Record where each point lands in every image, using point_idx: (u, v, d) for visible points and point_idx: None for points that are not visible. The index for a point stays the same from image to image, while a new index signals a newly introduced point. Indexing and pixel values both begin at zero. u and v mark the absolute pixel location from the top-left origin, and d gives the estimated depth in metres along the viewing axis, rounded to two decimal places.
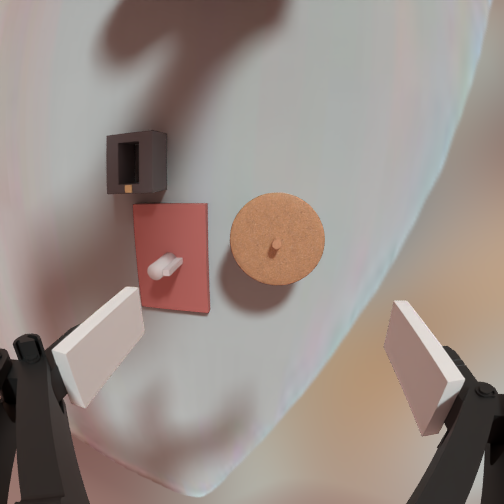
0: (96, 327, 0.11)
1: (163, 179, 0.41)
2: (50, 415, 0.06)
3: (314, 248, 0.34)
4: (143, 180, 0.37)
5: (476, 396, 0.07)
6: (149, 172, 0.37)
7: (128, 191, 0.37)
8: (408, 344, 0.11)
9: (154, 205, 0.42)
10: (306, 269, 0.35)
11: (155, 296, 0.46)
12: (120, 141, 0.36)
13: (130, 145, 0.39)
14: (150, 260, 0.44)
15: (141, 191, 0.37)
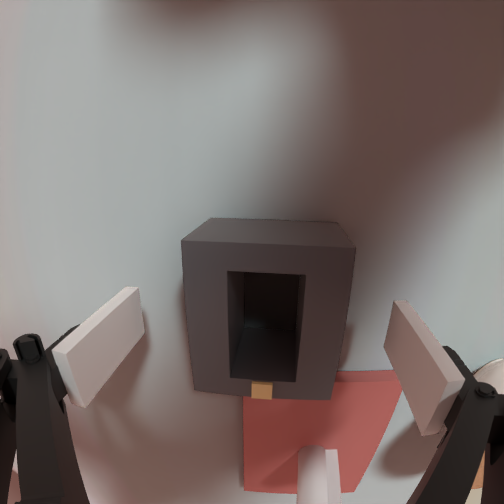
0: (96, 327, 0.11)
1: None
2: (50, 415, 0.06)
3: None
4: (309, 376, 0.14)
5: (476, 396, 0.07)
6: (329, 359, 0.13)
7: (262, 396, 0.14)
8: (408, 344, 0.11)
9: None
10: None
11: (271, 484, 0.22)
12: (235, 266, 0.12)
13: None
14: (272, 453, 0.21)
15: (299, 397, 0.14)
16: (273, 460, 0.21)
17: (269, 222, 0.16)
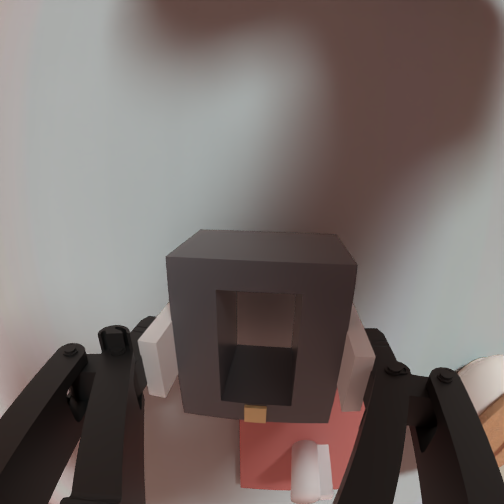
0: None
1: None
2: (125, 413, 0.07)
3: None
4: (306, 400, 0.12)
5: (386, 375, 0.09)
6: (328, 383, 0.12)
7: (256, 420, 0.13)
8: None
9: None
10: None
11: (267, 480, 0.24)
12: (225, 285, 0.11)
13: None
14: (267, 448, 0.22)
15: (295, 420, 0.13)
16: (268, 455, 0.23)
17: (263, 235, 0.15)
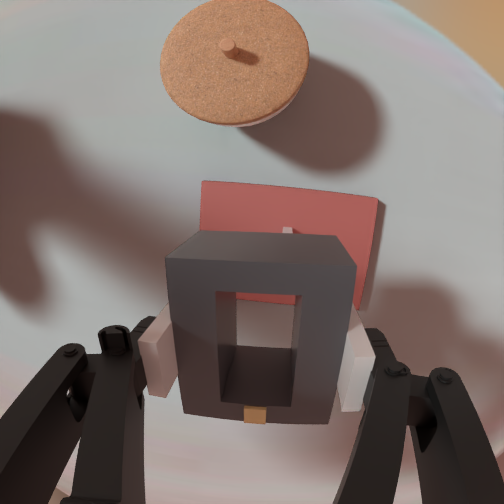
0: None
1: None
2: (125, 413, 0.07)
3: (245, 5, 0.17)
4: (305, 401, 0.12)
5: (387, 375, 0.09)
6: (327, 384, 0.12)
7: (255, 421, 0.13)
8: None
9: None
10: (279, 13, 0.17)
11: None
12: (224, 286, 0.11)
13: None
14: None
15: (295, 421, 0.13)
16: None
17: (262, 235, 0.15)
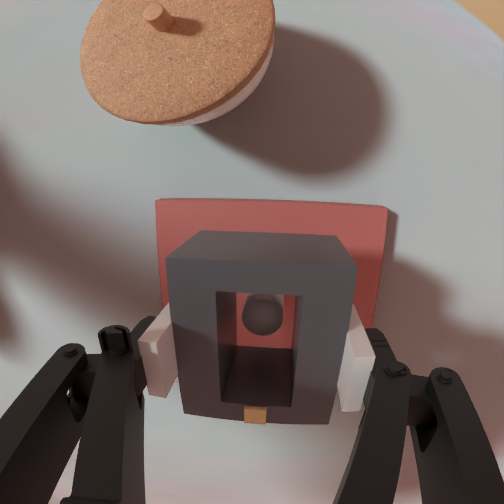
0: None
1: None
2: (125, 413, 0.07)
3: None
4: (306, 401, 0.12)
5: (386, 375, 0.09)
6: (328, 384, 0.12)
7: (255, 421, 0.13)
8: None
9: (164, 299, 0.23)
10: None
11: None
12: (225, 287, 0.11)
13: None
14: None
15: (295, 421, 0.13)
16: (286, 320, 0.22)
17: (263, 235, 0.15)
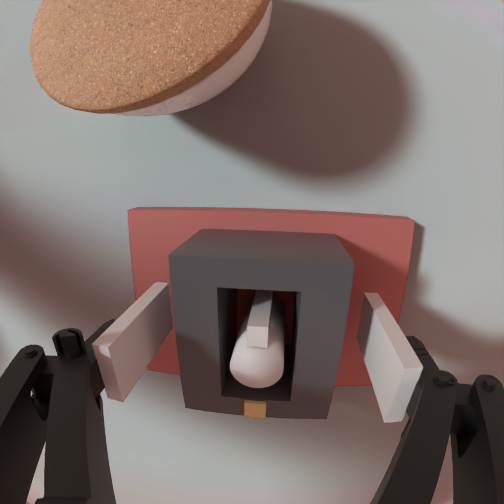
0: (134, 321, 0.12)
1: None
2: (85, 413, 0.07)
3: None
4: (304, 395, 0.13)
5: (435, 385, 0.08)
6: (326, 378, 0.12)
7: (255, 415, 0.13)
8: (374, 333, 0.12)
9: None
10: None
11: (361, 353, 0.17)
12: (226, 283, 0.12)
13: None
14: None
15: (294, 415, 0.13)
16: None
17: (263, 233, 0.15)
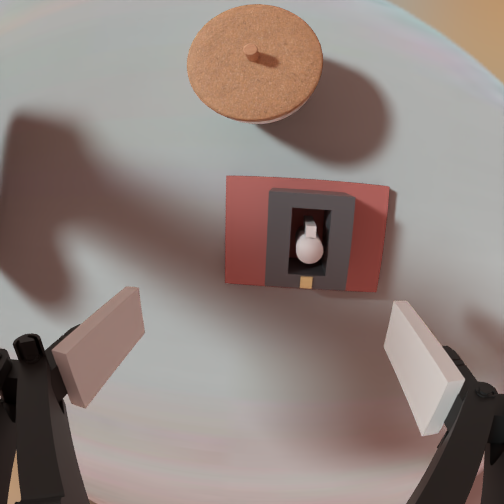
0: (96, 327, 0.11)
1: None
2: (50, 415, 0.06)
3: (262, 13, 0.19)
4: (333, 272, 0.25)
5: (476, 396, 0.07)
6: (344, 261, 0.25)
7: (306, 286, 0.26)
8: (408, 344, 0.11)
9: (227, 250, 0.31)
10: (294, 20, 0.19)
11: (362, 267, 0.30)
12: (296, 205, 0.24)
13: None
14: None
15: (327, 287, 0.26)
16: None
17: (307, 190, 0.28)
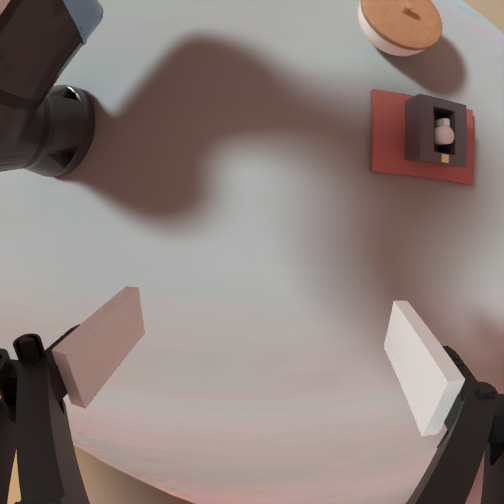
0: (96, 327, 0.11)
1: None
2: (50, 415, 0.06)
3: None
4: (459, 153, 0.29)
5: (476, 396, 0.07)
6: (464, 145, 0.29)
7: (445, 161, 0.30)
8: (408, 344, 0.11)
9: (375, 144, 0.35)
10: None
11: None
12: (435, 105, 0.28)
13: None
14: None
15: (456, 164, 0.30)
16: None
17: None
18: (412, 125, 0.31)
